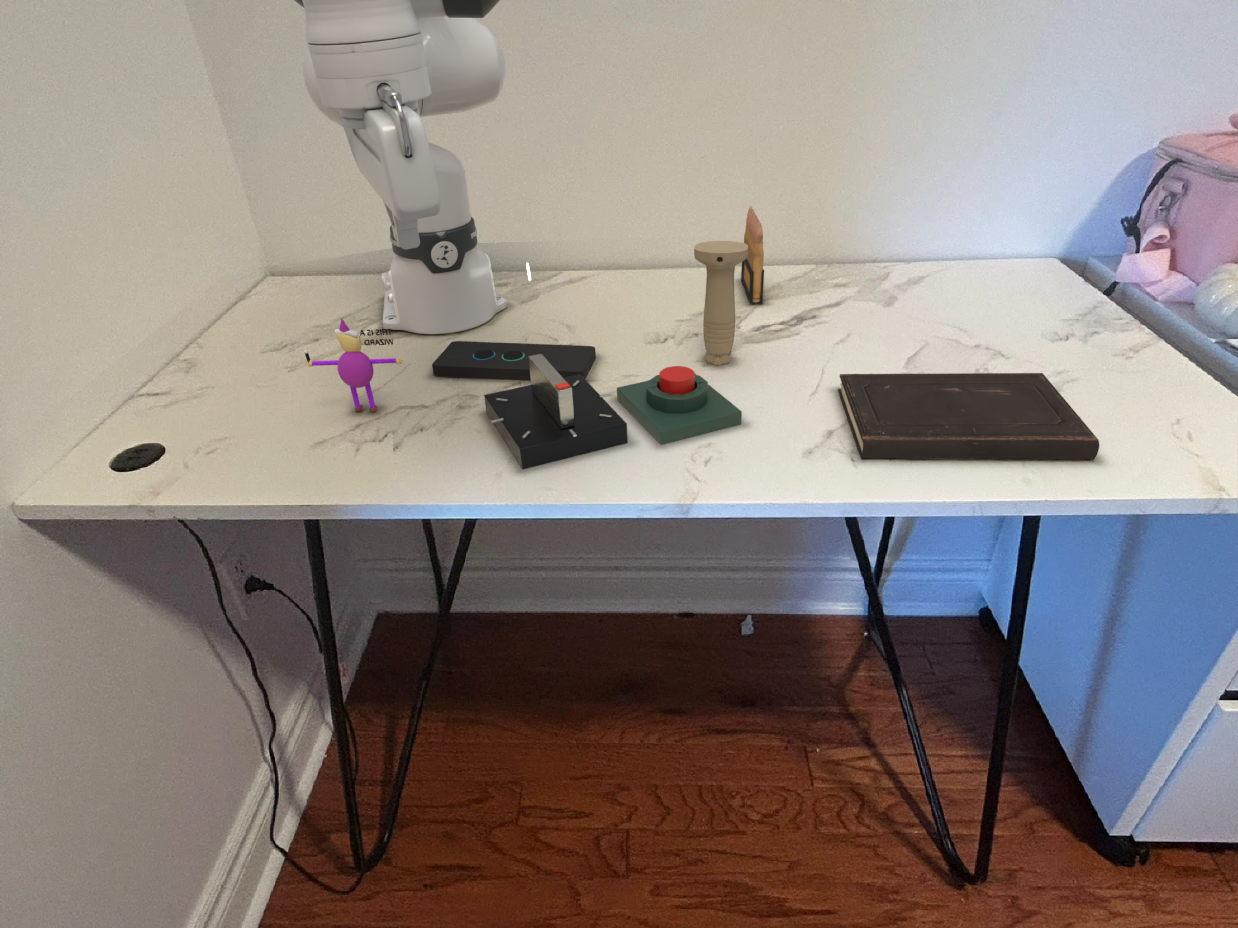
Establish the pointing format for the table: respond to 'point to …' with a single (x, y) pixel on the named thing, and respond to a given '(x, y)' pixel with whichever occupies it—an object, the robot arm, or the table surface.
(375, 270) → the table surface
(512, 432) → the control panel
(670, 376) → the button
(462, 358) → the smart home device
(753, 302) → the ammunition clip
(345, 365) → the wizard figurine
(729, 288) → the handle
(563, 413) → the knob
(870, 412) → the hardcover book
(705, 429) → the button box
